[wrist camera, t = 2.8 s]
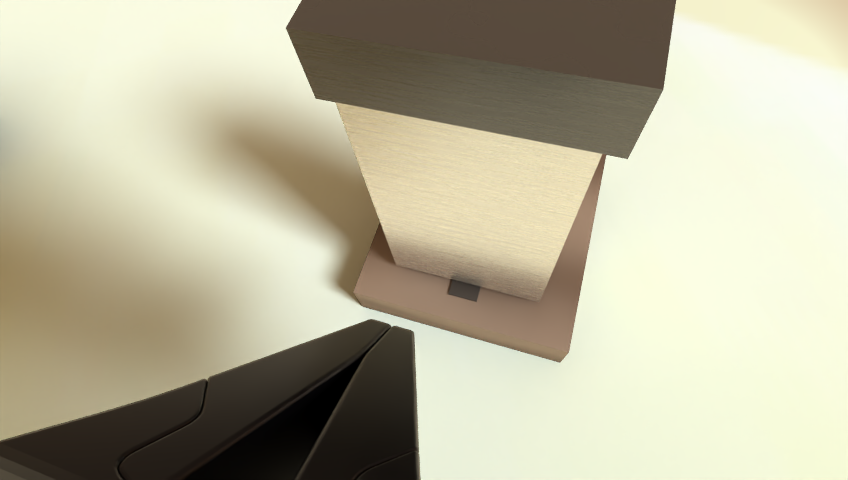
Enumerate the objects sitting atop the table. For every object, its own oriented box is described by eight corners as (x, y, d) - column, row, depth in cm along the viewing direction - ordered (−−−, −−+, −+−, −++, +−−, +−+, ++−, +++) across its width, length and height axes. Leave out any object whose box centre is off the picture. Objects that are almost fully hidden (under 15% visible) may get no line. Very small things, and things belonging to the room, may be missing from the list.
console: (560, 362, 20) (585, 333, 16) (362, 306, 22) (334, 265, 18) (620, 52, 27) (650, -31, 23) (466, 28, 29) (465, -52, 24)
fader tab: (552, 305, 19) (662, 89, 8) (384, 261, 20) (286, 27, 9) (566, 238, 20) (680, -30, 9) (407, 201, 21) (341, -70, 11)
